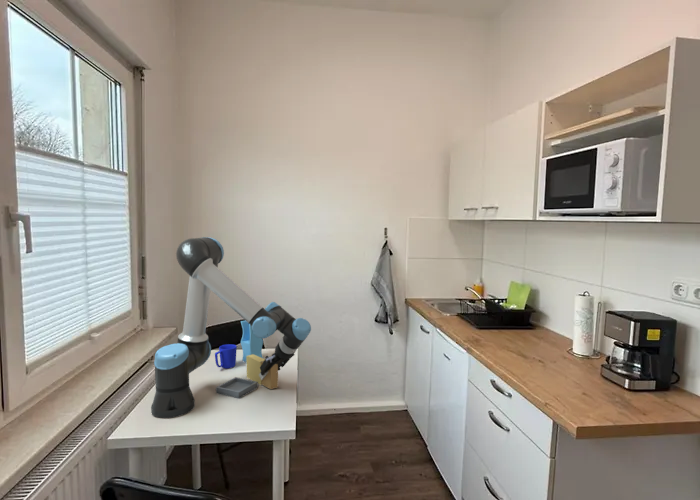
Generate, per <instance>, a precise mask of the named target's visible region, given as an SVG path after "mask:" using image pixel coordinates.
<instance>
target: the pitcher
mask: <svg viewBox="0 0 700 500" xmlns="http://www.w3.org/2000/svg"><path fill="white" fill-rule="evenodd" d="M240 324H241V328H242V337H241V339H240V345H241V348H242V362H245V363H247V362H246V356H248V355H252V354H254V355H256V356H258V357H261V358H263V359H264V357H263V353H262V349H263V344H264V340H263V339H264V338H258V337H256V336H255V335H254V333H253V331H252V326H251V325H250V324H249V323H248V322H247V321H246V320H240Z"/></svg>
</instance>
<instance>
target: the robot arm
mask: <svg viewBox="0 0 700 500" xmlns="http://www.w3.org/2000/svg"><path fill="white" fill-rule="evenodd" d="M175 254H176V255H175V256H176V261H177V263H178V265H179V266H180V267H181V269H182V270H183V271H184V272H185V273H186V274H187V275H189V278H188V287H187V295H186V303H185V311H184V320H183V326H182V328H183V329H182V332H180V333H179V334H178V336H177V343H171V344H168V345H164V346H162V347H160V348H159V349H157V351H156V352H155V354H154V363H153V365H154V377H155V378H154V380H155V392H154V393H155V394H154V396H153V401H152V404H151V407H150V409H151V412H150V413H152V414H151V415H152V416H153V417H156V418H160V419H169V418H170V419H171V418H176V417H181V416H184V415H186V414H188V413H190V412H191V411H193V410H194V408H195V407H196V402H195V401H196V400H195V397H194V394H193V393H192V390H191V387H190V373H192V372H193V371H196V369H198V368H200V367H202V366H203V365H204V364H205V363H206V362H207V361H208V360H209V358H210V356H211V354H212V346H211V343H210V342H209V335H208V334H207V333H206V329H207V322H208V313H209V305H210V298H211V292H212V293H214V294H215V295H216V296H217V298H219V299H220V300H222V302H224V303H225V304H226V305H227V306H229V308H230V309H232V310H233V311H234V312H235V313H236V314H237V315H238V316H240V317H241V318H242V319H243V321H245V320H246V321H247V322H248V323H249V324H250V325H251V326H252V331H253V333H254V335H255V336H256V337H258V338H262V339H267V338H269V337H271V336H272V335H274V334H275V332H277V331H278V332H280V333H281V334H282V335H283V336H282V338H281V339H280V340H279V342H278V343H277V344H276V346H275V348H274V353H272V354H271V356H268V355H266V356H265V358H264V359H265V360H264V362H263V363H262V365H261V366H260V370H261V372H260V374H259V376H260V379H261V380H263V379H264V378H265V376H266V375H267V374H268V371H269V370H270V369H271V368H272V367H273V366H274V365H275V364H278V372H279V371H280V370H281V368H283V367H284V366H286V364H287V363H288V362H289V361H290V360H291V358H293V357H294V356H295V353H296V351H297V350H298V349H299V347H301V345H302V344H303V343H304V341H305V340H307V338H308V336H309V334H310V333H311V331H312V326H311V323H310V322H309V321H308V320H307V319H306V318H303V317H298V318H295V317H293V315H291V314H290V313H289V312H287V311H286V309H284V308H283V307H282V306H281V305H279V304H278V303H277V302H275V301H271V302H270V303H268V304H267V306H266V307H265V308H264V307H263V306H262V305H261V304H260V303H258V302H257V301H256V300H255V299H254V298H253V297H252V296H250V295H249V294H248V293H247V292H246V291H245V290H243V288H242V287H240V286H239V285H238V284H237V283H235V281H234V280H233V279H231V278H230V277H229V276H227V274H225V273H224V271H222V270H221V269H219V264H220V263H221V262H222V260H223V259H224V256H225V250H224V246H223V245H222V244H221V242H220V241H218V240H217V239H216V238H213V237H209V236H208V237H207V236H203V237H202V236H201V237H196V238H193V237H191V238H188V239H185V240H183V241H182V242H181V243H180V244H179V245H178V247H177V249H176V253H175Z"/></svg>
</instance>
